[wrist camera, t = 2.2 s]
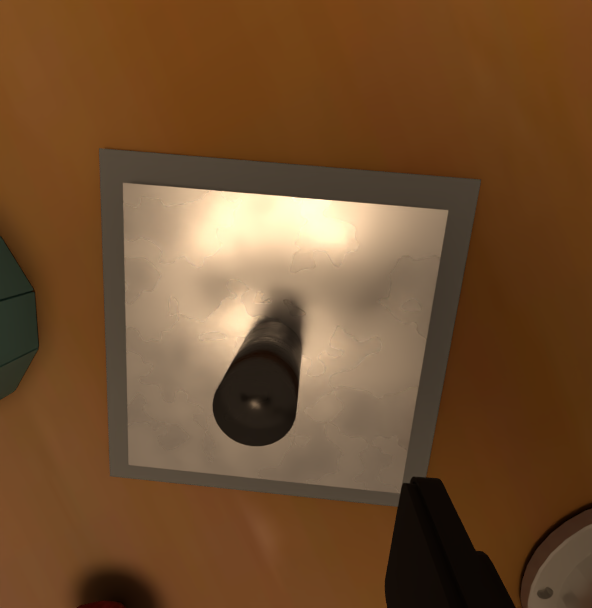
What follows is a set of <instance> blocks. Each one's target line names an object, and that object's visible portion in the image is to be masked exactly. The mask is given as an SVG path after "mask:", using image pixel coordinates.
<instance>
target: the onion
mask: <svg viewBox="0 0 592 608" xmlns="http://www.w3.org/2000/svg"><path fill="white" fill-rule="evenodd" d="M77 608H126V607H125V606H124V605H123V604H122V603H120V602H115V601H98V602H92V603H88V604H84V605H80V606H79V607H77Z"/></svg>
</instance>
